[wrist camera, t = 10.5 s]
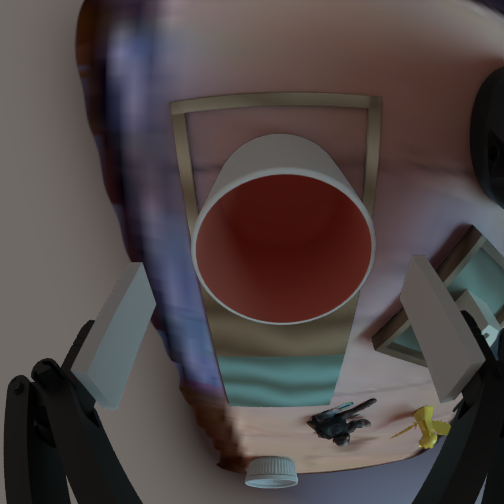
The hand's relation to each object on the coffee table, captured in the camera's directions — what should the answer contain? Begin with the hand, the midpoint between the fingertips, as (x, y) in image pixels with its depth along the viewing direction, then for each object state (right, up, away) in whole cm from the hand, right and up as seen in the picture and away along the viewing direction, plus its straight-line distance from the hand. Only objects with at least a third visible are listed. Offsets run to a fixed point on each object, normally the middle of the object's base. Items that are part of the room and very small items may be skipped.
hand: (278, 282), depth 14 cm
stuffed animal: (+15, -28, +32) cm, 45 cm away
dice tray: (+25, -6, +16) cm, 31 cm away
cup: (+1, +6, +10) cm, 12 cm away
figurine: (+32, -32, +33) cm, 56 cm away
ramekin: (+4, -52, +48) cm, 72 cm away
